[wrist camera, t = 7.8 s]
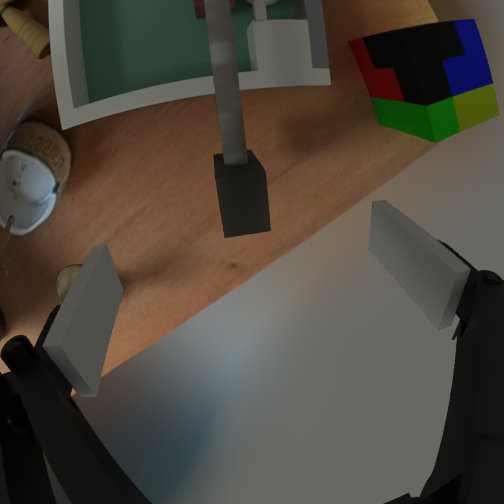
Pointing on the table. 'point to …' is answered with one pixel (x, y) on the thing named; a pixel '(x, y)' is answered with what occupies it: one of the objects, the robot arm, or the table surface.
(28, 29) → the kendama
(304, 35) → the pitch
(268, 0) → the ball
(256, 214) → the striker
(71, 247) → the table surface
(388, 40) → the puzzle toy
